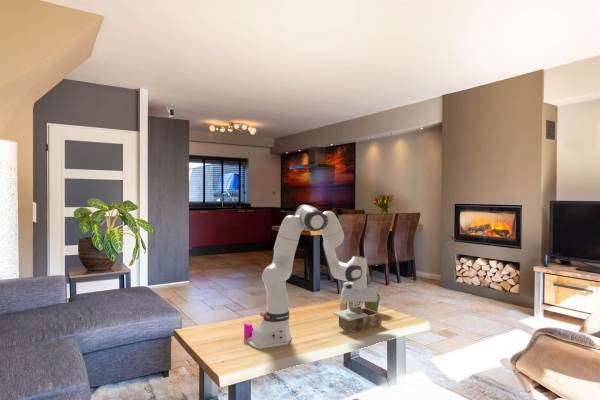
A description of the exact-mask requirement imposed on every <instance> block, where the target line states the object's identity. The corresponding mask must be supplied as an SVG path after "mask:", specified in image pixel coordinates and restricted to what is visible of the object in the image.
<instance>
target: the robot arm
mask: <svg viewBox="0 0 600 400" xmlns="http://www.w3.org/2000/svg"><path fill="white" fill-rule="evenodd" d="M304 229H307V230H309V231H312V232H317V231H320V233H321V236H322V239H323V240H322V249H323V252H324V256H325V261H326V263H327V273H328V275H329V277H330V278H331V279H335V280H341V281H344V282H343V283H342V286H343V287H342V288H341V293H340V300H342V301H343V302H347V303H348V302H353V303H355V304H356V306H357V307H358V308H363V305H364V302H376V301H377V300H378V299H377V293H379V292H378V291H379V289H378V286H377V285H375V284H368V278H367V277H368V276H367V273H368V263H367V258H366V257H365V256H360V255H353V256H352V257H351V259H350V260H349V261H347V262H343V261H340V259H338V256H337V254H336V248H337V247H339V246H340V245H342V243H343V242H344V240H345V234H344V231H343V227H342V225H341V223H340V221H339V219H338V216H336V214H335V212H333V211H330V210H327V211H321V210H319V209H318V208H317V207H315V206H312V205H310V204H306V203H305V204H301V205H299V206H297V208H296V210H295V211H294V212H293V213H292V214H289V215H286V216H285V217H284V218H283V220H282V221H281V224H280V226H279V229H278V233H277V236H276V239H275V242H274V246H273V257H272V263H270V264H269V265H267V266H266V267H265V269H263V272H262V274H261V279H262V282H263V284H264V288H265V293H266V310H265V312H263V311H261V312H259V316H260V317H261V318H262V319H263V318H264V319H263V320H261V321H259V322H258V323H259V324H258V325H257V324H256V325H257V326H256V325H255V326H256V327H255V326H254V329H253V331H252V337H250V338H248V339H246V341H247V344H248V345H250V346H251V347H253V348H255V349H259V350H262V349H268V348H275V347H281V346H287V345H289V344H290V341H291V340H292V334H291V329H290V321H289V320H290V310H289V293H288V292H287V291H288V290H287V286H286V284H287V282H286V281H287V280H288V279H290V277H291V275H292V273H293V265H294V259H295V254H296V251H297V247H298V245H299V240H300V237H301V234H302V232H303V231H304ZM358 302H361V305H360V306H358V305H357V303H358ZM355 304H354V305H355ZM358 304H359V303H358Z"/></svg>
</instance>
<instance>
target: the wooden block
mask: <svg viewBox="0 0 600 400" xmlns="http://www.w3.org/2000/svg"><path fill="white" fill-rule="evenodd" d="M347 308H348V302H343V301H342V300H341V299H340V300H339V311H342V310H347Z"/></svg>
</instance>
